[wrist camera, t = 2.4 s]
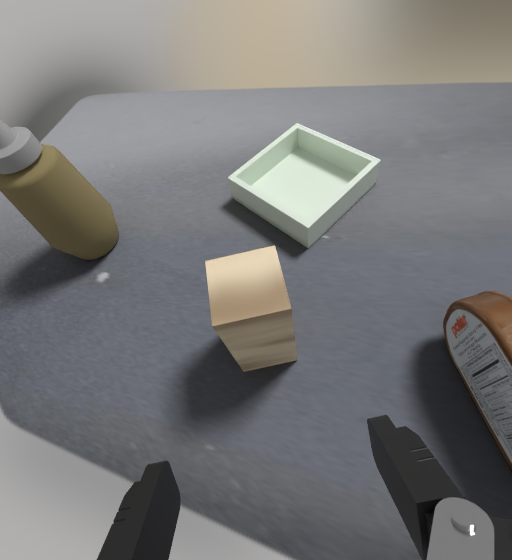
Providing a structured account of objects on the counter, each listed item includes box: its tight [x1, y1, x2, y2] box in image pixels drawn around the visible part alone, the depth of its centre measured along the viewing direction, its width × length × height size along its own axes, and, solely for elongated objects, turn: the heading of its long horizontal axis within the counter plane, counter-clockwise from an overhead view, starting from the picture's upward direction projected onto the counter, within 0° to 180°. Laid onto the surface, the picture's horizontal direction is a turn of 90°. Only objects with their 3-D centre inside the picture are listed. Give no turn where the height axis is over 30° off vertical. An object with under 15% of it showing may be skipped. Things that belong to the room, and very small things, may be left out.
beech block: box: [205, 245, 297, 372], centre depth 25 cm, size 5×5×11 cm
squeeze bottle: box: [0, 120, 119, 260], centre depth 32 cm, size 8×8×18 cm
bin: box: [228, 123, 381, 249], centre depth 38 cm, size 12×12×4 cm
